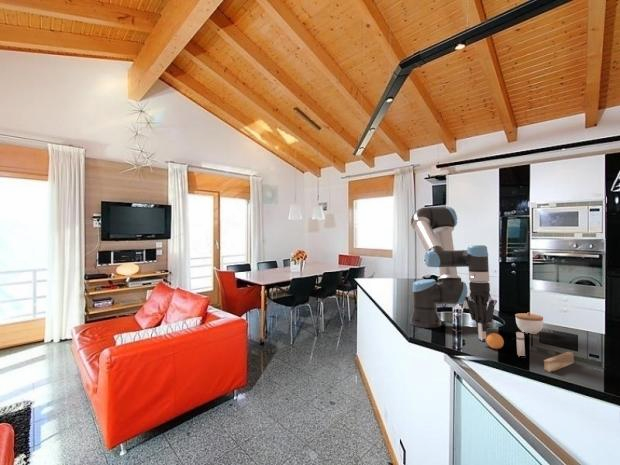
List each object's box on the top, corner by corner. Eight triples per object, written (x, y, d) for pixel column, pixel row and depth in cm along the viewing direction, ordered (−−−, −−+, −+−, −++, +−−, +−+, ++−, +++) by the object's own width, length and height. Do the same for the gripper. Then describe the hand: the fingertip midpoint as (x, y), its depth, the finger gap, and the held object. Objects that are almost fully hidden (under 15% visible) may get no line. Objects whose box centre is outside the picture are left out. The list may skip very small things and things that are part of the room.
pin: (519, 356, 112) (518, 333, 112) (515, 354, 114) (514, 331, 115) (526, 357, 111) (525, 333, 112) (523, 354, 114) (521, 332, 114)
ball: (481, 336, 122) (492, 350, 118) (494, 328, 121) (506, 342, 117) (484, 339, 126) (495, 352, 122) (497, 332, 125) (508, 345, 121)
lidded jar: (545, 336, 135) (544, 315, 135) (516, 333, 141) (515, 313, 141) (542, 330, 144) (541, 311, 144) (515, 328, 150) (514, 309, 150)
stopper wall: (544, 371, 99) (543, 360, 99) (568, 361, 107) (567, 351, 107) (549, 372, 98) (549, 361, 98) (573, 363, 105) (573, 352, 105)
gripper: (459, 281, 131) (462, 336, 130) (488, 283, 120) (492, 344, 118) (470, 280, 135) (473, 333, 133) (500, 282, 123) (503, 341, 121)
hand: (482, 338), depth 126 cm, fingers closed
